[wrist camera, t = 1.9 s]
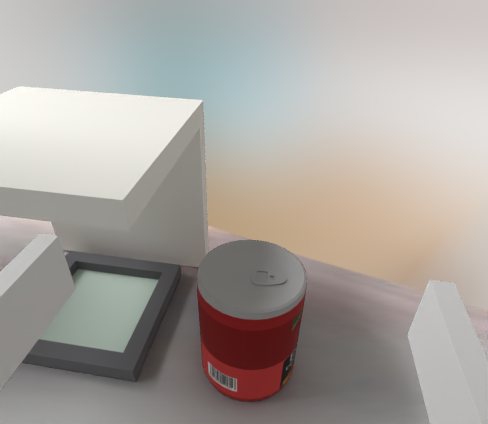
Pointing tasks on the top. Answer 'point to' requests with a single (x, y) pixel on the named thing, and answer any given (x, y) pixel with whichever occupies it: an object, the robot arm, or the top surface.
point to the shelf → (107, 171)
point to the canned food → (250, 317)
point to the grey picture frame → (107, 316)
